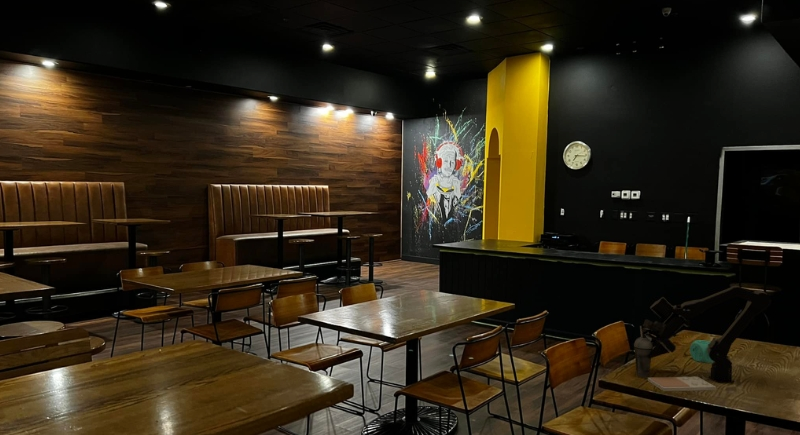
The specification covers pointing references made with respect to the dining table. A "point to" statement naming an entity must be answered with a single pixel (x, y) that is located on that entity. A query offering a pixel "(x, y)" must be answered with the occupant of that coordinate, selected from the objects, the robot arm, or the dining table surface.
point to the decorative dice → (700, 351)
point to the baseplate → (681, 383)
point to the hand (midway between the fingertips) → (642, 354)
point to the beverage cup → (642, 355)
